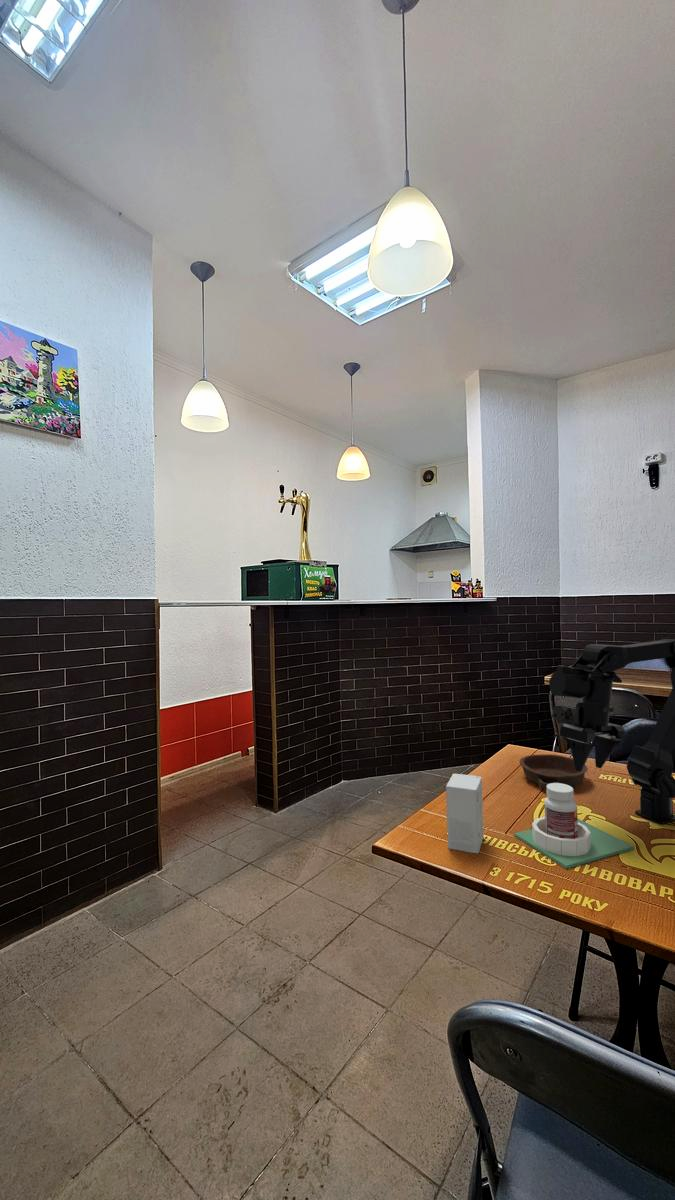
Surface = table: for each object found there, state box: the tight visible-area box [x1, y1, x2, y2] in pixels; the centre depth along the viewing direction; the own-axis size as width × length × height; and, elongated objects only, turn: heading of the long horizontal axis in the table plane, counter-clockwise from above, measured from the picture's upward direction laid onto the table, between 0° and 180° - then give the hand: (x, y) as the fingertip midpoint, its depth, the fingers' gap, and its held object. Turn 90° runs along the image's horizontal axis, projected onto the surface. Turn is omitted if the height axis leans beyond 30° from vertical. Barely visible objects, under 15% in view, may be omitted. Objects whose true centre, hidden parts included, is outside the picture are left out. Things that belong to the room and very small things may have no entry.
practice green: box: [513, 816, 635, 870], centre depth 101 cm, size 18×14×4 cm
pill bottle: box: [544, 783, 579, 839], centre depth 100 cm, size 6×6×11 cm
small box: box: [445, 773, 484, 854], centre depth 102 cm, size 8×6×13 cm
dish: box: [519, 753, 589, 791], centre depth 135 cm, size 18×22×5 cm
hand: (588, 769), depth 108 cm, fingers open, 9 cm apart
